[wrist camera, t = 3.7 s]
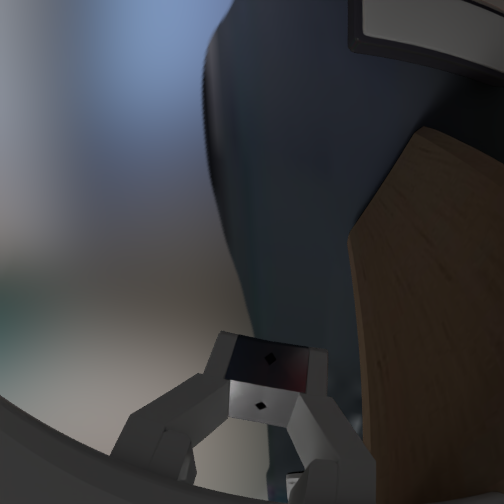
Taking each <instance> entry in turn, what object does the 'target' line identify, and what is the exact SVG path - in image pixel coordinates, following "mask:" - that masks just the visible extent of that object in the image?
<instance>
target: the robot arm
mask: <svg viewBox="0 0 504 504" xmlns="http://www.w3.org/2000/svg"><path fill="white" fill-rule="evenodd" d="M327 377H328V351H327V349H321V348H313V347H307V346H300V345H293V344H287V343H281V342H275V341H274V342H273V341H268V340H263V339H258V338H253V337H249V336H244V335H238V334H233V333H229V332H225V331H221V332H220V333H219V334H218V337H217V339H216V342H215V345H214V347H213V350H212V352H211V355H210V358H209V360H208V363H207V366H206V368H205V371H204V373H203V374H199V373H197V374H196V375H194V376H193V377H191V378H189V379H188V380H186V381H185V382H183V383H182V384H180V385H178V386H177V387H175V388H174V389H172V390H171V391H169V392H167V393H166V394H164V395H162V396H161V397H159V398H157V399H156V400H154V401H152V402H151V403H149V404H147V405H146V406H144V407H142V408H141V409H139V410H137V411H136V412H134V413H132V414H131V415H130V416H129V418H128V420H127V422H126V424H125V426H124V428H123V430H122V432H121V434H120V436H119V438H118V440H117V442H116V444H115V446H114V448H113V450H112V452H111V454H110V456H108V455H106V454H104V453H102V452H100V451H97V450H95V449H93V448H91V447H89V446H87V445H85V444H82V443H80V442H78V441H76V440H74V439H72V438H70V437H69V436H67V435H64V434H63V433H61V432H59V431H57V430H55V429H53V428H52V427H50V426H48V425H46V424H45V423H43V422H41V421H40V420H38V419H36V418H34V417H33V416H31V415H30V414H28V413H26V412H25V411H23V410H21V409H20V408H18V407H17V406H15V405H14V404H12V403H11V402H9V401H8V400H6V399H5V398H3V397H2V396H1V395H0V504H376V461H375V459H374V458H373V456H372V455H371V453H370V452H369V451H368V449H367V448H366V446H365V445H364V443H363V442H362V440H361V439H360V438H359V436H358V435H357V433H356V432H355V430H354V429H353V427H352V426H351V424H350V423H349V422H348V420H347V419H346V417H345V416H344V414H343V413H342V411H341V410H340V408H339V407H338V405H337V404H336V402H335V401H334V400H333V398H332V397H327ZM228 417H232V418H237V419H243V420H248V421H254V422H260V423H265V424H270V425H275V426H280V427H286V428H287V431H288V433H289V435H290V437H291V439H292V442H293V444H294V446H295V448H296V450H297V452H298V455H299V457H300V459H301V461H302V463H303V465H304V467H305V469H306V470H305V471H304V472H303V473H294V474H288V475H286V484H287V498H288V500H289V501H288V503H280V502H273V501H265V500H260V499H253V498H248V497H243V496H237V495H233V494H227V493H223V492H219V491H215V490H210V489H206V488H202V487H198V486H194V485H193V484H194V480H195V477H196V474H197V471H196V466H195V461H194V455H193V449H192V448H193V447H195V446H196V445H197V444H198V443H199V442H201V441H202V440H203V439H204V438H206V437H207V436H208V435H209V434H210V433H211V432H212V431H214V430H215V429H216V428H217V427H218V426H219V425H221V424H222V423H223V422H224V421H225V420H226V419H228ZM427 504H504V494H502V493H499V492H488V493H484V494H479V495H475V496H470V497H465V498H460V499H454V500H448V501H442V502H435V503H427Z"/></svg>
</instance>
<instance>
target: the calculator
mask: <svg viewBox="0 0 504 504" xmlns="http://www.w3.org/2000/svg"><path fill="white" fill-rule="evenodd" d="M348 48H349V49H350V51H352V52H354V53H360V54H367V55H373V56H379V57H385V58H390V59H396V60H401V61H406V62H410V63H415V64H419V65H423V66H428V67H432V68H435V69H439V70H443V71H447V72H450V73H454V74H457V75H460V76H464V77H467V78H470V79H473V80H476V81H479V82H482V83H485V84H488V85H491V86H494V87H504V0H348Z"/></svg>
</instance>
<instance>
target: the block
mask: <svg viewBox="0 0 504 504" xmlns="http://www.w3.org/2000/svg"><path fill="white" fill-rule="evenodd" d="M347 245H348V252H349V259H350V266H351V274H352V282H353V290H354V299H355V308H356V318H357V329H358V340H359V353H360V368H361V385H362V410H363V443H364V445H365V446H366V448H367V449H368V451H369V452H370V453H371V455H372V456H373V458H374V459H375V461H376V504H427V503H435V502H442V501H448V500H454V499H460V498H465V497H470V496H475V495H479V494H484V493H488V492H499V493H502V494H504V164H503V163H501V162H499V161H497V160H496V159H494V158H492V157H490V156H488V155H486V154H485V153H483V152H481V151H479V150H477V149H475V148H473V147H471V146H469V145H467V144H465V143H463V142H461V141H459V140H457V139H455V138H453V137H451V136H449V135H446V134H444V133H442V132H440V131H438V130H435V129H432V128H428V127H424V126H423V127H422V128H420V129H419V130H418V131H416V132H415V133H414V134H413V136H412V138H411V139H410V141H409V142H408V144H407V146H406V147H405V149H404V151H403V152H402V154H401V155H400V157H399V159H398V160H397V162H396V163H395V165H394V166H393V168H392V170H391V171H390V173H389V174H388V176H387V177H386V179H385V180H384V182H383V184H382V185H381V187H380V188H379V190H378V191H377V193H376V194H375V196H374V197H373V199H372V200H371V202H370V203H369V205H368V206H367V208H366V209H365V211H364V212H363V214H362V215H361V217H360V218H359V220H358V221H357V222H356V224H355V225H354V227H353V228H352V230H351V231H350V233H349V237H348V241H347Z"/></svg>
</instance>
